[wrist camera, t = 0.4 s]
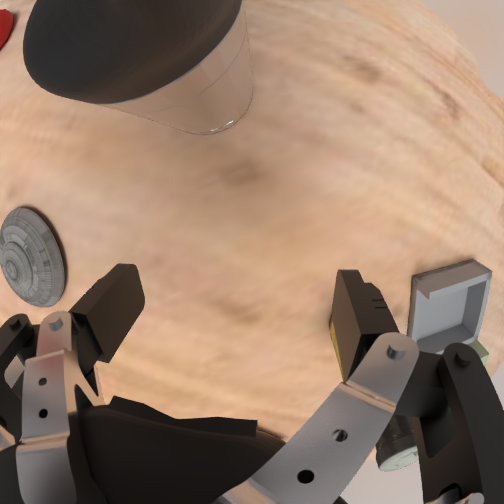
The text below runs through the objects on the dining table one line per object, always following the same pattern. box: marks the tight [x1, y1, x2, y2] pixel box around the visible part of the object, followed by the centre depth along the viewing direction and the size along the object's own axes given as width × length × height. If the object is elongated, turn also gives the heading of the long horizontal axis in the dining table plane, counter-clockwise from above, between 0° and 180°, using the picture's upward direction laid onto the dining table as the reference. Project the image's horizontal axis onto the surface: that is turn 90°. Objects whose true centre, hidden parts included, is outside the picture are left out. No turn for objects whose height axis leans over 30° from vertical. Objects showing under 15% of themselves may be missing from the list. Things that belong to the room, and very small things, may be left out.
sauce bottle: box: [329, 318, 419, 472], centre depth 22 cm, size 7×6×20 cm
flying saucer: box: [0, 208, 64, 307], centre depth 28 cm, size 15×15×6 cm
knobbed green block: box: [407, 259, 492, 367], centre depth 27 cm, size 22×14×11 cm, turn 12°
